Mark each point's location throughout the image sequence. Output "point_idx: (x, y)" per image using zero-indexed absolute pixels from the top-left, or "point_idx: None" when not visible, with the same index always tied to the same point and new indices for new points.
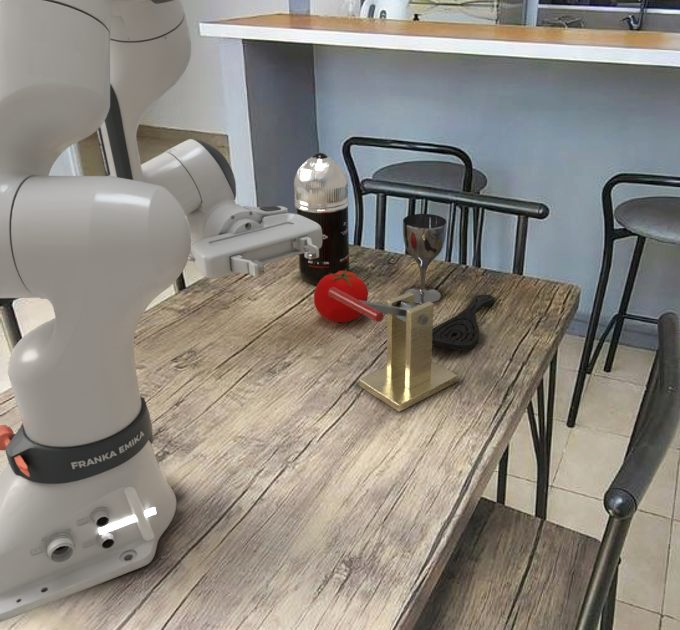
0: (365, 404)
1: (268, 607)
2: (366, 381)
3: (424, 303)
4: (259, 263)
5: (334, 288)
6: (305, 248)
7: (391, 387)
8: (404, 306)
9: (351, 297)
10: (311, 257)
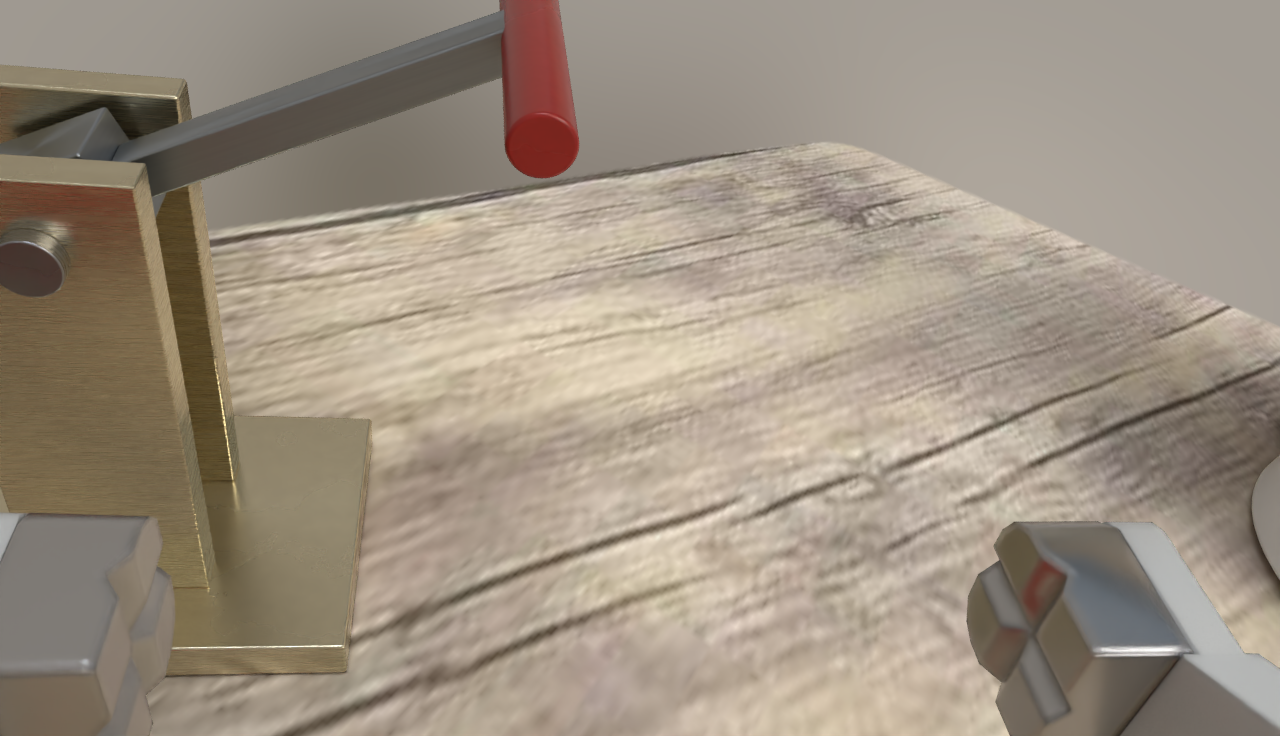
0: (436, 552)
1: (1036, 239)
2: (331, 609)
3: (19, 82)
4: (1073, 531)
5: (540, 100)
6: (115, 642)
7: (284, 510)
8: (102, 149)
9: (534, 16)
10: (162, 591)
